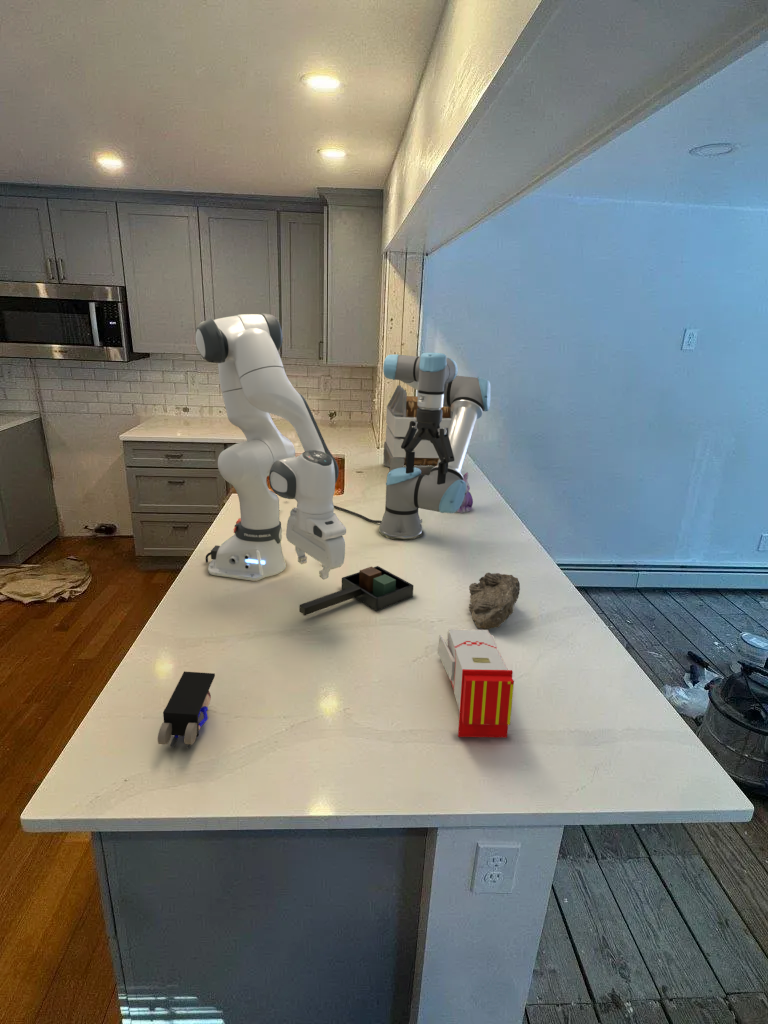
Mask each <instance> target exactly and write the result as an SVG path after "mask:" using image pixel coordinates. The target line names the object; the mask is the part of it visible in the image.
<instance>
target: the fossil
mask: <svg viewBox="0 0 768 1024" xmlns="http://www.w3.org/2000/svg"><path fill="white" fill-rule="evenodd" d="M478 581H479V582H477V583H476V582H473V583H470V585H469V588H468V589H469V595H470V596H469V598H470V600H469V601H470V603H469V604H468V609H469V612H470V613H471V619H472V620H473V622H474V624H475V626H476V628H477V629H481V630H491V629H495V628H500V627H501V626H502V624H504V623H505V622H506V621H507V619H509V618H510V616H511V615H512V614H513V613H514V611H515V606H516V603H517V601H518V599H519V595H520V592H521V591H520V590H521V585H520V581H519V578H518V577H515V576H514V575H513V574H508V573H507V574H505V573H503V574H502V573H500V572H496V573H491V572H486V573H485V574H484V576H481V577H480V578H479V579H478Z"/></svg>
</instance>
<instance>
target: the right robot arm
mask: <svg viewBox="0 0 768 1024" xmlns="http://www.w3.org/2000/svg"><path fill="white" fill-rule="evenodd" d="M382 366H383V367H382V371H383V375H384V377H385V378H386V379H387V380H393V381H400V382H402V383H404V384H405V385H408V386H409V387H411V388H413V389H414V390H416V391H417V396H418V401H417V406H418V407H419V408H418V409H417V415H416V421H410V424H409V429H408V431H407V434H406V436H405V438H404V440H403V443H402V445H401V448H402V449H404V450H405V452H406V457H405V461H406V465H405V466H404V467H403V468H397V469H393V470H391V471H390V470H389V471H388V473H387V475H386V482H385V504H384V505H385V507H384V508H385V509H384V513H383V515H382V519H381V520H379V519H378V520H377V519H376V520H375V519H372V518H368V517H366V516H365V515H362V514H360V513H358V512H355V511H352V510H349V509H346V508H344V507H340V506H337V505H334V509H336V510H337V509H338V510H339V511H342V512H345V513H348V514H351V515H354V516H356V517H359V518H361V519H362V520H363V519H364V520H365V521H367V522H370V523H373V524H379V526H378V533H379V534H380V535H381V536H382V537H385V538H387V539H389V540H395V541H410V540H415V539H418V538H420V537H421V536H422V535H423V525H422V523H423V519H422V518H420V515H419V509H420V510H427V511H433V512H438V513H441V514H455V513H457V512H456V511H457V510H458V509H459V508H460V506H461V504H462V502H463V499H464V496H465V492H466V483H465V481H463V479H464V478H463V476H464V475H463V474H462V470H463V466H464V463H465V460H466V456H467V453H468V449H469V446H470V443H471V438H472V436H473V433H474V428H475V425H476V422H477V420H478V419H480V418H481V417H482V416H483V413H484V412H488V411H489V410H490V407H491V398H492V397H491V395H492V394H491V393H492V391H491V390H492V388H491V382H490V380H489V379H488V378H486V377H479V376H476V377H475V376H474V377H473V376H464V375H458V373H459V368H458V364H457V362H456V361H455V360H454V359H453V358H451V357H447V355H446V354H445V353H442V352H422V353H421V354H420V356H418V355H417V356H415V355H404V354H398V353H397V354H388V355H386V357H385V358H384V361H383V365H382ZM443 406H445V407H451V410H452V412H453V415H452V419H451V422H450V425H449V428H440V423H441V421H442V413H443V411H442V409H441V408H442V407H443ZM417 429H418V431H417ZM416 431H417V433H416ZM415 433H416V434H415ZM414 435H415V437H414ZM413 437H414V438H413ZM435 438H436V439H435ZM422 439H426V440H428V441H430V442H431V443H432V444H433V445H434V448H435V450H436V452H437V454H438V456H439V460H438V464H437V466H432V468H431V469H430V471H429V474H424V473H423V474H422V470H421V468H419V467H416V466H414V459H415V452H412V451H414V449H415V447H416V446H417V445H418V444H419V442H420V441H421V440H422Z"/></svg>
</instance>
